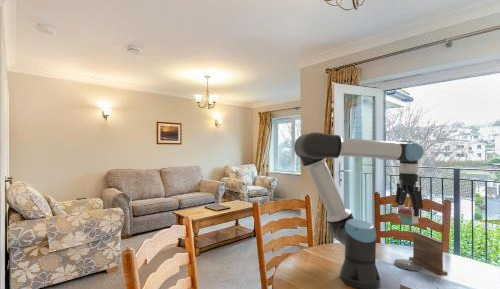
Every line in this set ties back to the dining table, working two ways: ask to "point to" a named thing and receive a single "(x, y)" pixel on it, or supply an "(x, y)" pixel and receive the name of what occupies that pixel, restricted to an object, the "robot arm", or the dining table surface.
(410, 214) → the cupcake
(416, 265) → the plate
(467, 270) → the dining table surface
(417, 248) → the screen
